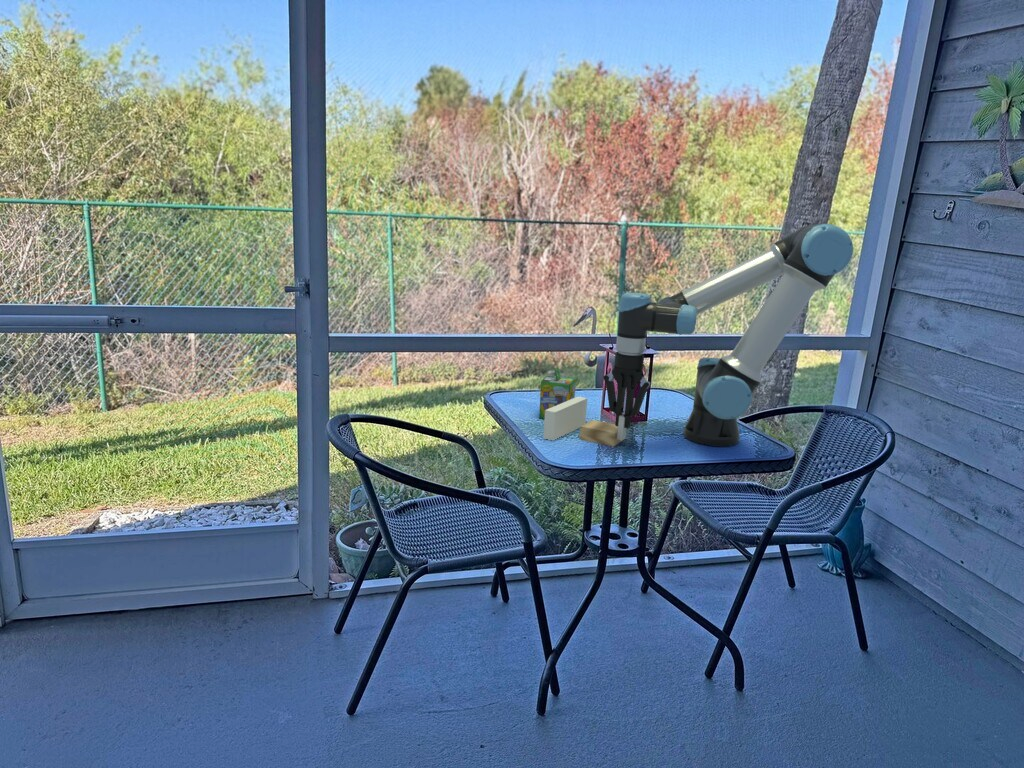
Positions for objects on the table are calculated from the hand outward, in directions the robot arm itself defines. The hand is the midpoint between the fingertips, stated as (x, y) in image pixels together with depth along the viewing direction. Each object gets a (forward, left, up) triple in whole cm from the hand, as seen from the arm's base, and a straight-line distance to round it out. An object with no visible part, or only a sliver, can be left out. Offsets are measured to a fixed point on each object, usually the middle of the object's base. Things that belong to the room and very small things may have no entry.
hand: (621, 438), depth 198 cm
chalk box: (+26, -12, -2) cm, 29 cm away
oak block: (+6, -1, -2) cm, 6 cm away
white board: (+17, 0, -2) cm, 17 cm away
